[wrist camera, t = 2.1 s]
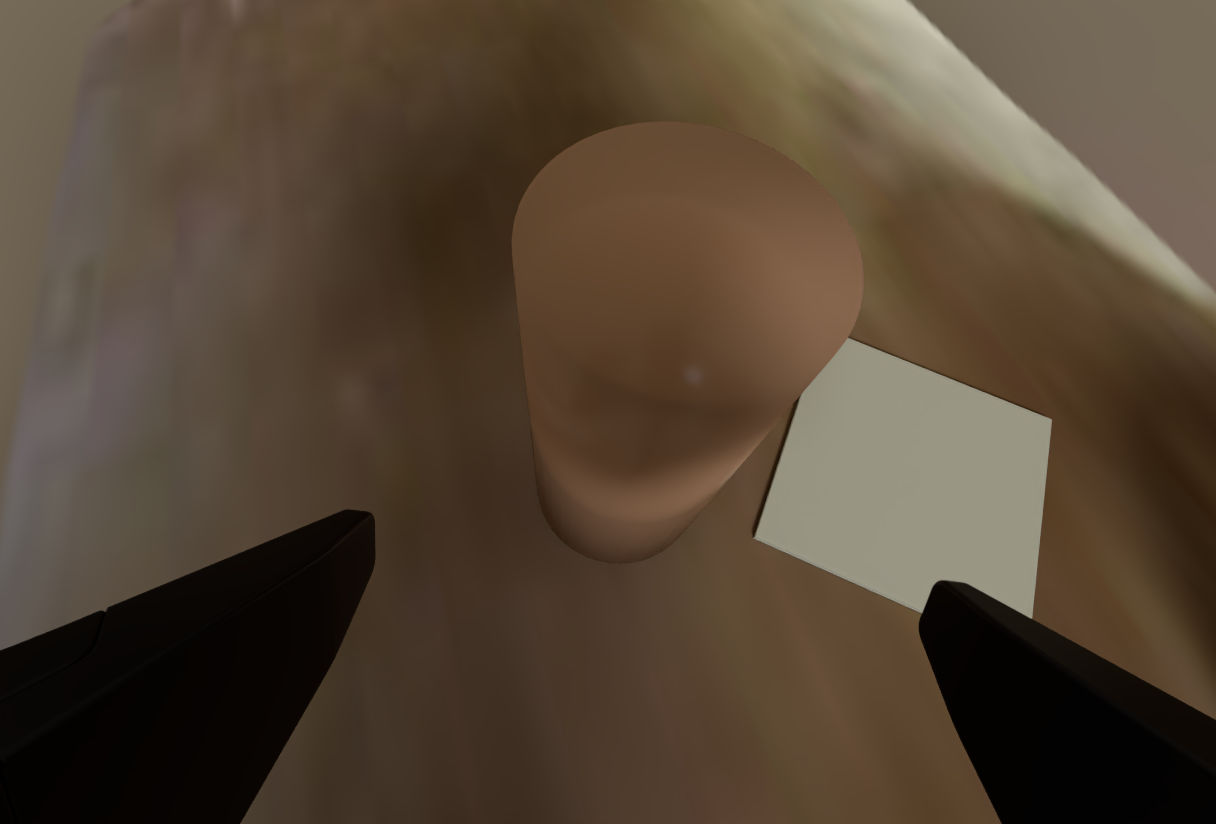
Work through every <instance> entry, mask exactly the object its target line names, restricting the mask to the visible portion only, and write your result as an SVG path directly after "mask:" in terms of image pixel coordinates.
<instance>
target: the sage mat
mask: <svg viewBox="0 0 1216 824" xmlns="http://www.w3.org/2000/svg"><path fill="white" fill-rule="evenodd" d="M1051 423H1052V419H1049V418H1047V417H1044V416H1042V415H1039V414H1037V413H1034V412H1032V411H1029V410H1027V409H1024V408H1022V407H1019V406H1017V405H1014V404H1012V403H1009V402H1007V401H1004V400H1002V399H999V398H997V397H994V396H992V395H989V394H987V393H984V392H982V391H979V390H977V389H974V388H972V387H969V386H967V385H964V384H962V383H959V382H957V381H954V380H952V379H949V378H947V377H944V376H942V375H939V374H937V373H934V372H932V371H930V370H927V369H925V368H922V367H920V366H917V365H915V364H912V363H910V362H907V361H905V360H902V359H900V358H897V357H895V356H892V355H890V354H887V353H885V352H882V351H880V350H877V349H875V348H872V347H870V346H867V345H865V344H862V343H860V342H857V341H855V340H852V339H850V338H847V340H846V341H845V343H844V344H843V345H842V346H841V348H840V349H839V350H838V352H837V353H836V354H835V355H834V357H833V358H832V359H831V360H830V361H829V362H828V364H827V365H826V366H825V367H824V368H823V369H822V371H821V372H820V373H819V374H818V375H817V376H816V378H815V379H814V380H813V381H812V382H811V383H810V385H809V386H808V387H807V388H806V389H805V390H804V392H803V393H802V394H801V395H800V397H799V400H798V403H797V406H796V409H795V412H794V415H793V419H792V422H791V425H790V428H789V431H788V434H787V437H786V440H785V443H784V446H783V449H782V452H781V455H780V458H779V461H778V464H777V467H776V470H775V474H774V477H773V480H772V483H771V486H770V489H769V492H768V495H767V498H766V501H765V504H764V507H763V510H762V513H761V516H760V519H759V522H758V526H757V529H756V532H755V535H754V539H756V540H758V541H761V542H763V543H765V544H767V545H770V546H772V547H774V548H776V549H779V550H781V551H783V552H785V553H788V554H790V555H792V556H794V557H797V558H799V559H801V560H803V561H806V562H808V563H810V564H812V565H815V566H817V567H819V568H821V569H823V570H826V571H828V572H830V573H832V574H835V575H837V576H839V577H841V578H844V579H846V580H848V581H850V582H853V583H855V584H857V585H859V586H862V587H864V588H866V589H868V590H871V591H873V592H875V593H877V594H880V595H882V596H884V597H886V598H888V599H891V600H893V601H895V602H897V603H900V604H902V605H904V606H906V607H909V608H911V609H913V610H915V611H918V612H920V613H922V612H923V610H924V607H925V605H926V602H927V599H928V597H929V594H930V592H931V589H932V587H933V585H934V584H935V583H936V582H937V581H940V580H949V581H958V582H964V583H967V584H969V585H971V586H973V587H975V588H976V589H978V590H980V591H982V592H984V593H985V594H987V595H989V596H991V597H993V598H995V599H996V600H998V601H1000V602H1002V603H1004V604H1005V605H1007V606H1009V607H1011V608H1013V609H1015V610H1016V611H1018V612H1020V613H1022V614H1024V615H1026V616H1027V617H1029V618H1031V619H1032V613H1033V603H1034V593H1035V583H1036V573H1037V563H1038V553H1039V543H1040V533H1041V523H1042V513H1043V503H1044V493H1045V483H1046V473H1047V463H1048V453H1049V443H1050V433H1051Z"/></svg>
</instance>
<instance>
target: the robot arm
mask: <svg viewBox="0 0 1216 824" xmlns="http://www.w3.org/2000/svg"><path fill="white" fill-rule="evenodd" d="M374 564H375V520H374V516H373V515H372V513H370V512H366V511H358V510H350V509H348V510H343V511H340V512H338V513H336V514H333V515H331V516H328V517H326V518H323V519H321V520H319V521H316V522H314V523H311V524H309V525H306V526H304V527H302V528H299V529H297V530H294V531H292V532H289V533H287V534H285V535H282V536H280V537H277V538H275V539H273V540H270V541H268V542H265V543H263V544H260V545H258V546H256V547H253V548H251V549H248V550H246V551H243V552H241V553H239V554H236V555H234V556H231V557H229V558H226V559H224V560H222V561H219V562H217V563H214V564H212V565H209V566H207V567H205V568H202V569H200V570H197V571H195V572H193V573H190V574H188V575H185V576H183V577H180V578H178V579H176V580H173V581H171V582H168V583H166V584H163V585H161V586H159V587H156V588H154V589H151V590H149V591H146V592H144V593H142V594H139V595H137V596H134V597H132V598H129V599H127V600H125V601H122V602H120V603H117V604H115V605H112V606H110V607H108V608H107V610H106V612H104V611H97V612H95V613H93V614H90V615H88V616H86V617H83V618H81V619H78V620H76V621H74V622H71V623H69V624H66V625H64V626H61V627H59V628H56V629H54V630H51V631H49V632H46V633H44V634H41V635H39V636H36V637H34V638H31V639H29V640H26V641H24V642H21V643H18V644H16V645H13V646H11V647H8V648H6V649H3V650H0V824H240V823H241V821H242V820H243V818H244V816H245V814H246V813H247V811H248V809H249V807H250V806H251V804H252V802H253V801H254V799H255V797H256V795H257V794H258V792H259V790H260V788H261V787H262V785H263V783H264V781H265V780H266V778H267V776H268V774H269V773H270V771H271V769H272V767H273V766H274V764H275V762H276V760H277V759H278V757H279V755H280V754H281V752H282V750H283V748H284V747H285V745H286V743H287V741H288V740H289V738H290V736H291V734H292V733H293V731H294V729H295V727H296V726H297V724H298V722H299V720H300V719H301V717H302V715H303V714H304V712H305V710H306V708H307V707H308V705H309V703H310V701H311V700H312V698H313V696H314V694H315V693H316V691H317V689H318V687H319V686H320V684H321V682H322V680H323V679H324V677H325V675H326V673H327V672H328V670H329V668H330V666H331V664H332V662H333V661H334V659H335V657H336V654H337V652H338V650H339V648H340V646H341V644H342V641H343V639H344V637H345V634H346V632H347V630H348V627H349V625H350V623H351V621H352V618H353V616H354V614H355V611H356V609H357V607H358V604H359V602H360V600H361V597H362V595H363V593H364V591H365V588H366V586H367V584H368V581H369V579H370V577H371V574H372V572H373V569H374ZM919 634H920V638H921V641H922V643H923V646H924V649H925V651H926V654H927V657H928V659H929V662H930V665H931V667H932V670H933V672H934V675H935V678H936V680H937V683H938V686H939V688H940V691H941V694H942V696H943V699H944V701H945V704H946V707H947V709H948V712H949V714H950V717H951V719H952V722H953V724H954V727H955V729H956V731H957V733H958V735H959V738H960V740H961V742H962V744H963V746H964V748H965V750H966V752H967V754H968V756H969V758H970V760H971V762H972V764H973V766H974V768H975V770H976V773H977V775H978V777H979V779H980V781H981V783H982V785H983V787H984V789H985V791H986V793H987V795H988V797H989V799H990V801H991V803H992V805H993V807H994V809H995V811H996V813H997V815H998V817H999V819H1000V821H1001V823H1002V824H1216V720H1215V719H1213V718H1211V717H1209V716H1208V715H1206V714H1204V713H1202V712H1200V711H1198V710H1197V709H1195V708H1193V707H1191V706H1189V705H1188V704H1186V703H1184V702H1182V701H1180V700H1178V699H1177V698H1175V697H1173V696H1171V695H1169V694H1168V693H1166V692H1164V691H1162V690H1160V689H1158V688H1157V687H1155V686H1153V685H1151V684H1149V683H1147V682H1146V681H1144V680H1142V679H1140V678H1138V677H1137V676H1135V675H1133V674H1131V673H1129V672H1127V671H1126V670H1124V669H1122V668H1120V667H1118V666H1117V665H1115V664H1113V663H1111V662H1109V661H1107V660H1106V659H1104V658H1102V657H1100V656H1098V655H1097V654H1095V653H1093V652H1091V651H1089V650H1087V649H1086V648H1084V647H1082V646H1080V645H1078V644H1076V643H1075V642H1073V641H1071V640H1069V639H1067V638H1066V637H1064V636H1062V635H1060V634H1058V633H1056V632H1055V631H1053V630H1051V629H1049V628H1047V627H1046V626H1044V625H1042V624H1040V623H1038V622H1036V621H1035V620H1033V619H1031V618H1029V617H1027V616H1026V615H1024V614H1022V613H1020V612H1018V611H1016V610H1015V609H1013V608H1011V607H1009V606H1007V605H1005V604H1004V603H1002V602H1000V601H998V600H996V599H995V598H993V597H991V596H989V595H987V594H985V593H984V592H982V591H980V590H978V589H976V588H975V587H973V586H971V585H969V584H967V583H964V582H958V581H949V580H940V581H937V582H936V583H935V584H934V585H933V587H932V589H931V592H930V594H929V597H928V599H927V602H926V605H925V607H924V610H923V612H922V615H921V617H920V620H919Z"/></svg>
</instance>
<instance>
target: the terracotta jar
mask: <svg viewBox="0 0 1216 824" xmlns="http://www.w3.org/2000/svg"><path fill="white" fill-rule="evenodd" d="M512 260H513V270H514V279H515V288H516V298H517V307H518V316H519V325H520V335H521V344H522V353H523V363H524V372H525V381H526V390H527V400H528V409H529V418H530V428H531V437H532V446H533V455H534V465H535V474H536V483H537V492H538V498H539V503H540V506H541V509H542V512H543V514H544V516H545V518H546V520H547V522H548V524H549V525H550V527H551V528H552V530H553V531H554V532H555V533H556V535H557V536H558V537H559V538H560V539H561V540H562V541H563V542H564V543H565V544H567V545H568V546H569V547H571V548H572V549H574V550H575V551H577V552H578V553H580V554H582V555H584V556H586V557H589V558H592V559H595V560H598V561H602V562H607V563H632V562H637V561H641V560H644V559H647V558H650V557H653V556H654V555H656V554H658V553H660V552H662V551H663V550H665V549H666V548H667V547H669V546H670V545H671V544H672V543H673V542H674V541H676V540H677V539H678V538H679V536H680V535H681V534H682V533H683V532H684V531H685V529H686V528H687V527H688V526H689V525H690V524H691V522H692V521H693V520H694V519H695V518H696V517H697V515H698V514H699V513H700V512H701V511H702V510H703V508H704V507H705V506H706V505H707V504H708V503H709V501H710V500H711V499H712V498H713V497H714V496H715V494H716V493H717V492H718V491H719V490H720V489H721V487H722V486H723V485H724V484H725V483H726V482H727V480H728V479H729V478H730V477H731V476H732V474H733V473H734V472H735V471H736V470H737V469H738V467H739V466H740V465H741V464H742V463H743V462H744V460H745V459H746V458H747V457H748V456H749V455H750V453H751V452H752V451H753V450H754V449H755V448H756V446H757V445H758V444H759V443H760V442H761V441H762V439H763V438H764V437H765V436H766V435H767V434H768V432H769V431H770V430H771V429H772V428H773V427H774V425H775V424H776V423H777V422H778V421H779V420H780V418H781V417H782V416H783V415H784V414H785V413H786V411H787V410H788V409H789V408H790V407H791V406H792V404H793V403H794V402H795V401H796V400H797V399H798V397H799V396H800V395H801V394H802V393H803V392H804V390H805V389H806V388H807V387H808V386H809V385H810V383H811V382H812V381H813V380H814V379H815V378H816V376H817V375H818V374H819V373H820V372H821V371H822V369H823V368H824V367H825V366H826V365H827V364H828V362H829V361H830V360H831V359H832V358H833V357H834V355H835V354H836V353H837V352H838V350H839V349H840V348H841V346H842V345H843V344H844V343H845V341H846V340H847V338H848V336H849V334H850V332H851V331H852V329H853V327H854V325H855V323H856V320H857V317H858V314H859V311H860V308H861V304H862V297H863V290H864V269H863V263H862V258H861V252H860V249H859V246H858V243H857V240H856V237H855V234H854V232H853V230H852V228H851V226H850V224H849V222H848V220H847V218H846V216H845V215H844V213H843V212H842V210H841V209H840V207H839V206H838V204H837V203H836V201H835V200H834V199H833V198H832V196H831V195H830V194H829V193H828V192H827V191H826V189H825V188H824V187H823V186H822V185H821V184H820V183H819V182H818V181H817V180H816V179H815V178H814V177H813V176H811V175H810V174H809V173H808V172H807V171H806V170H804V169H803V168H802V167H800V166H799V165H798V164H796V163H795V162H794V161H793V160H791V159H789V158H788V157H786V156H785V155H783V154H781V153H780V152H778V151H776V150H775V149H773V148H771V147H769V146H767V145H765V144H763V143H761V142H759V141H757V140H754V139H751V138H749V137H746V136H744V135H741V134H738V133H735V132H732V131H728V130H725V129H721V128H718V127H713V126H708V125H702V124H697V123H687V122H671V121H656V122H644V123H635V124H630V125H625V126H619V127H615V128H612V129H609V130H605V131H602V132H599V133H597V134H594V135H592V136H589V137H587V138H585V139H582V140H581V141H579V142H577V143H575V144H574V145H572V146H570V147H568V148H567V149H565V150H564V151H562V152H561V153H560V154H559V155H557V156H556V157H555V158H553V159H552V160H551V161H550V162H549V163H548V164H547V165H546V166H545V167H544V168H543V169H542V170H541V171H540V172H539V173H538V174H537V176H536V177H535V178H534V180H533V181H532V182H531V184H530V185H529V186H528V188H527V190H526V192H525V194H524V196H523V198H522V200H521V202H520V204H519V207H518V210H517V213H516V216H515V219H514V226H513V232H512Z"/></svg>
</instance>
